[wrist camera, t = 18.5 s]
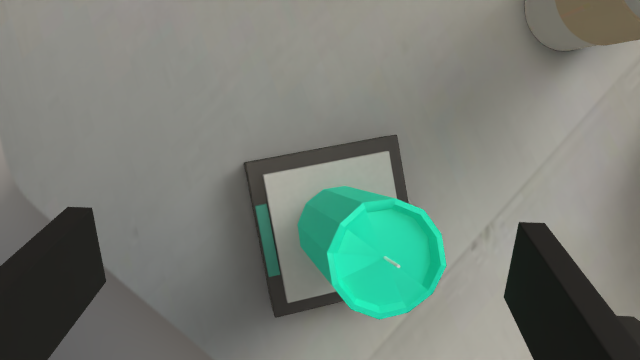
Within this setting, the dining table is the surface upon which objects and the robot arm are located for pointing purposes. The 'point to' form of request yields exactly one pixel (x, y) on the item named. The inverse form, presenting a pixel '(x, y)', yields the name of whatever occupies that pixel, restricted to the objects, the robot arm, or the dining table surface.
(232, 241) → the dining table surface
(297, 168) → the scale
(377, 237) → the candle
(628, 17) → the coffee cup
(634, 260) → the dining table surface
